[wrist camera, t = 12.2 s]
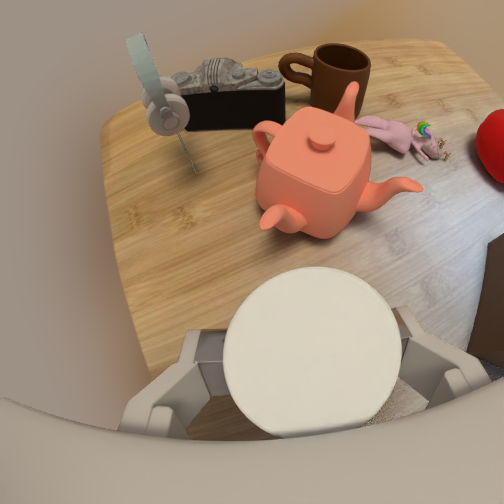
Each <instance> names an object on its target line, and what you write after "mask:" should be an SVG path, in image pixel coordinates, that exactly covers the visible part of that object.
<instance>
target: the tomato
mask: <svg viewBox="0 0 504 504" xmlns="http://www.w3.org/2000/svg"><path fill="white" fill-rule="evenodd" d="M476 147H477V152H478V155H479V157H480V160H481V161H482V163H483V165H484V167H485V168H486V170H487V171H488V173H489V174H490V175H491V176H492V177H493V178H494V180H496V181H498V182H500V183H502V184H504V109H500V110H496V111H494V112H492V113H491V114H489V115H488V117H487V118H486V119H485V120H484V122H483V123H482V124H481V125H480V126H479V128H478V131H477V136H476Z"/></svg>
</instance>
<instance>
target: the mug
mask: <svg viewBox="0 0 504 504" xmlns="http://www.w3.org/2000/svg"><path fill="white" fill-rule="evenodd" d="M292 63H297V64H300V65H303V66H305V67H308V68H310V69H312V76H310V75H309V74H306V73H301V72H295V71H293V70H292V69H291V67H290V64H292ZM278 67H279V71H280V73H281V74H282V76H283V77H284V78H286V79H287V80H289V81H291V82H294V83H298V84H303V85H304V86H307V87H308V88H310V89H311V97H310V100H311V105H312V107H314V108H318V109H321V110H324V111H327V112H329V113H332V114H334V112H335V110H336V109H337V107H338V105H339V103H340V101H341V99H342V97H343V95H344V93H345V90H346V88H347V86H348V85H349V84H350V83H351V82H354V81H355V82H357V83H358V84H359V91H358V94H357V97H356V101H355V110H354V118H355V117H356V116H357V115H358V114H359V112H360V110H361V106H362V103H363V99H364V95H365V92H366V88H367V84H368V80H369V75H370V67H371V62H370V59H369V58H368V56H367V55H366V54H364V53H363V52H362V51H360V50H358V49H356V48H354V47H351V46H348V45H344V44H337V43H329V44H324V45H321V46H319V47H317V48H316V50H315V51H314V56H313V57H309V56H307V55H304V54H301V53H289V54H286V55H284V56H283V57H282V58H281V59H280V61H279V65H278Z"/></svg>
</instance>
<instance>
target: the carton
mask: <svg viewBox="0 0 504 504" xmlns="http://www.w3.org/2000/svg"><path fill="white" fill-rule="evenodd" d="M466 353H468V354H470V355H472V356H475V357H477V358H479V359H482V360H484V361H486V362H489V363H491V364H494V365H496V366H498V367H501V368H503V369H504V233H503V234H502V235H500V236H499V237H497V238H496V239H494V240H493V241H491V242H490V243H488V251H487V260H486V267H485V274H484V280H483V286H482V292H481V297H480V302H479V306H478V311H477V315H476V319H475V323H474V327H473V331H472V335H471V338H470V342H469V345H468V349H467V352H466Z"/></svg>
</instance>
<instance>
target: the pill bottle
mask: <svg viewBox="0 0 504 504" xmlns="http://www.w3.org/2000/svg"><path fill="white" fill-rule="evenodd" d="M401 357H402V345H401V337H400V331H399V327H398V324H397V321H396V319H395V317H394V314H393V312H392V310H391V308H390V307H389V305H388V304H387V302H386V301H385V300H384V298H383V297H382V296H381V295H380V294H379V293H378V292H377V291H376V290H375V289H374V288H373V287H372V286H371V285H369V284H368V283H367V282H365V281H364V280H362V279H361V278H359V277H357V276H355V275H353V274H351V273H348V272H345V271H342V270H339V269H335V268H329V267H303V268H297V269H293V270H290V271H287V272H284V273H281V274H279V275H277V276H275V277H273V278H271V279H269V280H267V281H265V282H264V283H263V284H262V285H260V286H259V287H258V288H256V289H255V290H254V291H253V292H252V293H251V294H250V295H249V296H248V297H247V298H246V299H245V300H244V301H243V303H242V304H241V305H240V307H239V308H238V310H237V311H236V313H235V315H234V316H233V318H232V320H231V322H230V325H229V328H228V330H227V333H226V336H225V342H224V349H223V368H224V375H225V379H226V383H227V386H228V389H229V391H230V394H231V396H232V398H233V399H234V401H235V403H236V405H237V406H238V407H239V409H240V410H241V411H242V412H243V413H244V414H245V416H246V417H247V418H248V419H249V420H250V421H252V422H253V423H254V424H255V425H257V426H258V427H259V428H261V429H262V430H264V431H266V432H268V433H270V434H272V435H274V436H277V437H279V438H282V439H288V438H298V437H306V436H314V435H321V434H328V433H334V432H340V431H345V430H350V429H355V428H359V427H361V426H362V425H364V424H365V423H366V422H367V421H369V420H370V419H371V418H372V417H373V416H374V415H375V414H376V413H377V412H378V411H379V409H380V408H381V407H382V406H383V405H384V403H385V402H386V400H387V399H388V397H389V396H390V394H391V392H392V390H393V388H394V386H395V383H396V381H397V378H398V374H399V370H400V365H401Z"/></svg>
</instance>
